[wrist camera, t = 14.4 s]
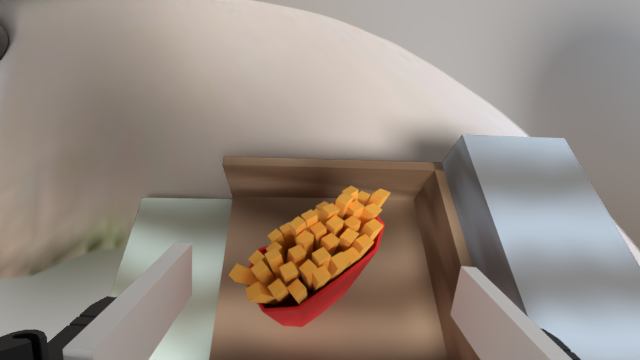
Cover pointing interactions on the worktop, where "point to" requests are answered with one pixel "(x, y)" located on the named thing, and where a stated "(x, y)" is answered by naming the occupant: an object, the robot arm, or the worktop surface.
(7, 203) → the worktop surface
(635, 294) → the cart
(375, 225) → the french fries
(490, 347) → the robot arm
